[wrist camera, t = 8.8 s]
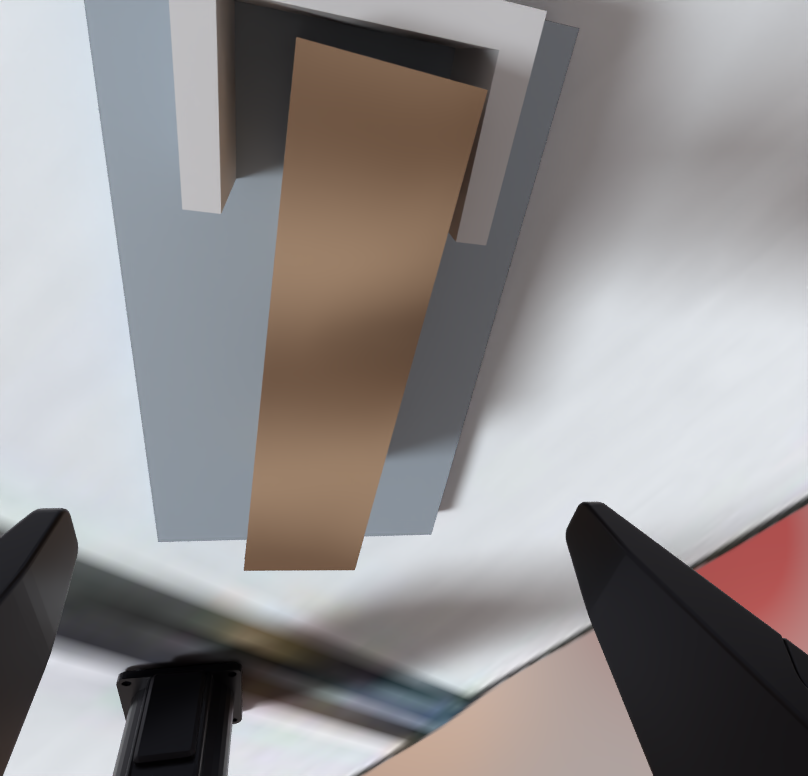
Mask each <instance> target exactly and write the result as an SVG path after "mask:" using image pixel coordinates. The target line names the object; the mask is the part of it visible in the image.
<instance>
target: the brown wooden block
mask: <svg viewBox="0 0 808 776" xmlns="http://www.w3.org/2000/svg"><path fill="white" fill-rule="evenodd" d="M487 91H488V90H486V89H482V88H479V87H475V86H471V85H468V84H464V83H461V82H457V81H453V80H450V79H446V78H443V77H439V76H435V75H432V74H428V73H425V72H421V71H417V70H414V69H410V68H407V67H403V66H399V65H396V64H392V63H389V62H385V61H381V60H378V59H374V58H371V57H367V56H363V55H360V54H356V53H353V52H349V51H345V50H342V49H338V48H335V47H331V46H327V45H324V44H320V43H317V42H313V41H309V40H306V39H302V38H299V37H296V44H295V54H294V64H293V74H292V84H291V94H290V105H289V115H288V125H287V135H286V145H285V155H284V165H283V176H282V186H281V196H280V206H279V216H278V226H277V237H276V247H275V257H274V267H273V277H272V287H271V298H270V308H269V318H268V328H267V338H266V348H265V359H264V369H263V379H262V389H261V399H260V409H259V420H258V430H257V440H256V450H255V460H254V471H253V481H252V491H251V502H250V512H249V522H248V533H247V543H246V554H245V564H244V571H265V570H355V567H356V564H357V560H358V557H359V553H360V549H361V546H362V542H363V538H364V535H365V531H366V528H367V524H368V520H369V517H370V513H371V510H372V506H373V502H374V499H375V495H376V492H377V488H378V484H379V481H380V477H381V474H382V470H383V466H384V463H385V459H386V455H387V452H388V448H389V445H390V441H391V437H392V434H393V430H394V427H395V423H396V419H397V416H398V412H399V409H400V405H401V401H402V398H403V394H404V391H405V387H406V383H407V380H408V376H409V372H410V369H411V365H412V362H413V358H414V354H415V351H416V347H417V344H418V340H419V336H420V333H421V329H422V326H423V322H424V318H425V315H426V311H427V308H428V304H429V300H430V297H431V293H432V290H433V286H434V282H435V279H436V275H437V271H438V268H439V264H440V261H441V257H442V253H443V250H444V246H445V243H446V239H447V235H448V232H449V228H450V225H451V221H452V217H453V214H454V210H455V207H456V203H457V199H458V196H459V192H460V188H461V185H462V181H463V178H464V174H465V170H466V167H467V163H468V160H469V156H470V152H471V149H472V145H473V142H474V138H475V134H476V131H477V127H478V124H479V120H480V116H481V113H482V109H483V105H484V102H485V98H486V95H487Z"/></svg>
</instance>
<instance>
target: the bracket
mask: <svg viewBox="0 0 808 776" xmlns="http://www.w3.org/2000/svg"><path fill="white" fill-rule="evenodd" d="M84 4H85V11H86V19H87V26H88V33H89V41H90V48H91V55H92V62H93V70H94V77H95V84H96V92H97V99H98V106H99V113H100V121H101V128H102V135H103V143H104V150H105V157H106V165H107V172H108V179H109V186H110V194H111V201H112V208H113V216H114V223H115V230H116V237H117V245H118V252H119V259H120V267H121V274H122V281H123V289H124V296H125V303H126V310H127V318H128V325H129V332H130V340H131V347H132V354H133V361H134V369H135V376H136V383H137V391H138V398H139V405H140V412H141V420H142V427H143V434H144V442H145V449H146V456H147V464H148V471H149V478H150V485H151V493H152V500H153V507H154V515H155V522H156V529H157V536H158V542H174V541H211V540H247V533H248V522H249V512H250V502H251V491H252V481H253V471H254V460H255V450H256V440H257V430H258V420H259V409H260V399H261V389H262V379H263V369H264V359H265V348H266V338H267V328H268V318H269V308H270V298H271V287H272V277H273V267H274V257H275V247H276V237H277V226H278V216H279V206H280V196H281V186H282V176H283V165H284V155H285V145H286V135H287V125H288V115H289V105H290V94H291V84H292V74H293V64H294V54H295V44H296V37H299V38H302V39H306V40H309V41H313V42H317V43H320V44H324V45H327V46H331V47H335V48H338V49H342V50H345V51H349V52H353V53H356V54H360V55H363V56H367V57H371V58H374V59H378V60H381V61H385V62H389V63H392V64H396V65H399V66H403V67H407V68H410V69H414V70H417V71H421V72H425V73H428V74H432V75H435V76H439V77H443V78H446V79H450V80H453V81H457V82H461V83H464V84H468V85H471V86H475V87H479V88H482V89H486V90H488V91H487V95H486V98H485V102H484V105H483V109H482V113H481V116H480V120H479V124H478V127H477V131H476V134H475V138H474V142H473V145H472V149H471V152H470V156H469V160H468V163H467V167H466V170H465V174H464V178H463V181H462V185H461V188H460V192H459V196H458V199H457V203H456V207H455V210H454V214H453V217H452V221H451V225H450V228H449V232H448V235H447V239H446V243H445V246H444V250H443V253H442V257H441V261H440V264H439V268H438V271H437V275H436V279H435V282H434V286H433V290H432V293H431V297H430V300H429V304H428V308H427V311H426V315H425V318H424V322H423V326H422V329H421V333H420V336H419V340H418V344H417V347H416V351H415V354H414V358H413V362H412V365H411V369H410V372H409V376H408V380H407V383H406V387H405V391H404V394H403V398H402V401H401V405H400V409H399V412H398V416H397V419H396V423H395V427H394V430H393V434H392V437H391V441H390V445H389V448H388V452H387V455H386V459H385V463H384V466H383V470H382V474H381V477H380V481H379V484H378V488H377V492H376V495H375V499H374V502H373V506H372V510H371V513H370V517H369V520H368V524H367V528H366V531H365V535H364V536H394V535H431V533H432V530H433V527H434V523H435V520H436V516H437V513H438V510H439V506H440V503H441V499H442V496H443V492H444V489H445V486H446V482H447V479H448V475H449V472H450V469H451V465H452V462H453V458H454V455H455V451H456V448H457V445H458V441H459V438H460V434H461V431H462V428H463V424H464V421H465V417H466V414H467V410H468V407H469V404H470V400H471V397H472V393H473V390H474V387H475V383H476V380H477V376H478V373H479V369H480V366H481V363H482V359H483V356H484V352H485V349H486V346H487V342H488V339H489V335H490V332H491V328H492V325H493V322H494V318H495V315H496V311H497V308H498V305H499V301H500V298H501V294H502V291H503V287H504V284H505V281H506V277H507V274H508V270H509V267H510V264H511V260H512V257H513V253H514V250H515V246H516V243H517V240H518V236H519V233H520V229H521V226H522V223H523V219H524V216H525V212H526V209H527V205H528V202H529V199H530V195H531V192H532V188H533V185H534V182H535V178H536V175H537V171H538V168H539V164H540V161H541V158H542V154H543V151H544V147H545V144H546V141H547V137H548V134H549V130H550V127H551V123H552V120H553V117H554V113H555V110H556V106H557V103H558V100H559V96H560V93H561V89H562V86H563V82H564V79H565V76H566V72H567V69H568V65H569V62H570V59H571V55H572V52H573V48H574V45H575V41H576V38H577V35H578V31H579V28H576V27H572V26H567V25H563V24H559V23H555V22H551V21H547V20H545V17H546V13H547V11H545V10H541V9H537V8H533V7H529V6H524V5H520V4H516V3H512V2H508V1H504V0H84Z"/></svg>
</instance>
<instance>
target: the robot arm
mask: <svg viewBox="0 0 808 776" xmlns="http://www.w3.org/2000/svg"><path fill="white" fill-rule="evenodd" d="M566 542H567V546H568V549H569V552H570V556H571V559H572V563H573V566H574V569H575V573H576V576H577V579H578V583H579V586H580V590H581V593H582V596H583V600H584V603H585V606H586V609H587V612H588V615H589V618H590V620H591V623H592V626H593V628H594V631H595V633H596V636H597V638H598V641H599V643H600V645H601V648H602V650H603V653H604V655H605V658H606V660H607V663H608V665H609V667H610V670H611V672H612V675H613V678H614V679H615V682H616V685H617V687H618V690H619V692H620V695H621V697H622V700H623V702H624V705H625V707H626V709H627V712H628V714H629V717H630V719H631V722H632V724H633V727H634V729H635V732H636V734H637V737H638V739H639V742H640V744H641V747H642V749H643V752H644V754H645V756H646V759H647V761H648V764H649V766H650V769H651V771H652V773H653V776H808V655H807V654H806V653H805V652H803V651H802V650H801V649H799V648H798V647H797V646H795V645H794V644H792V643H791V642H790V641H789V640H787V639H785V638H782V636H781V635H780V634H779V633H778V632H776V631H775V630H774V629H772V628H771V627H770V626H768V625H767V624H766V623H764V622H763V621H762V620H760V619H759V618H758V617H756V616H755V615H753V614H752V613H751V612H749V611H748V610H747V609H745V608H744V607H743V606H741V605H740V604H739V603H737V602H736V601H735V600H733V599H732V598H731V597H729V596H728V595H727V594H725V593H724V592H723V591H721V590H720V589H718V588H717V587H716V586H714V585H713V584H712V583H710V582H709V581H708V580H706V579H705V578H704V577H702V576H701V575H700V574H698V573H697V572H696V571H694V570H693V569H692V568H690V567H689V566H687V565H686V564H685V563H683V562H682V561H681V560H679V559H678V558H677V557H675V556H674V555H673V554H671V553H670V552H669V551H667V550H666V549H665V548H663V547H662V546H661V545H659V544H658V543H656V542H655V541H654V540H652V539H651V538H650V537H648V536H647V535H646V534H644V533H643V532H642V531H640V530H639V529H638V528H636V527H635V526H634V525H632V524H631V523H630V522H628V521H627V520H625V519H624V518H623V517H621V516H620V515H619V514H617V513H616V512H615V511H613V510H612V509H611V508H609V507H608V506H607V505H605V504H604V503H601V502H582V503H581V504H579V506H578V507H577V509H576V511H575V513H574V515H573V517H572V519H571V521H570V523H569V525H568V527H567V529H566ZM77 554H78V542H77V538H76V534H75V530H74V527H73V523H72V519H71V516H70V513H69V511H68V510H66V509H63V508H42V509H37V510H35V511H33V512H31V513H30V514H29V515H27V516H26V517H25V518H24V519H22V520H21V521H20V522H19V523H17V524H16V525H15V526H14V527H12V528H11V529H10V530H8V531H7V532H6V533H5V534H3V535H2V536H1V537H0V776H3V774H4V772H5V769H6V766H7V764H8V761H9V759H10V756H11V754H12V751H13V749H14V746H15V744H16V741H17V739H18V736H19V734H20V731H21V728H22V726H23V723H24V721H25V718H26V716H27V713H28V711H29V708H30V706H31V703H32V701H33V698H34V696H35V693H36V691H37V688H38V685H39V683H40V680H41V678H42V675H43V673H44V670H45V668H46V665H47V662H48V659H49V657H50V654H51V651H52V647H53V644H54V640H55V637H56V633H57V629H58V626H59V622H60V618H61V615H62V611H63V607H64V603H65V600H66V596H67V592H68V589H69V585H70V581H71V577H72V574H73V570H74V566H75V563H76V559H77ZM116 685H117V689H118V693H119V696H120V700H121V704H122V708H123V712H124V715H125V719H126V724H125V728H124V732H123V736H122V740H121V744H120V748H119V752H118V756H117V760H116V764H115V768H114V772H113V776H227V775H228V764H229V753H230V742H231V732H232V724H236V723H239V722H240V721H241V720H242V666H241V664H239V663H224V664H212V665H199V666H187V667H175V668H163V669H151V670H139V671H127V672H123V673H121V674H119V676H118V680H117V684H116Z"/></svg>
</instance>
